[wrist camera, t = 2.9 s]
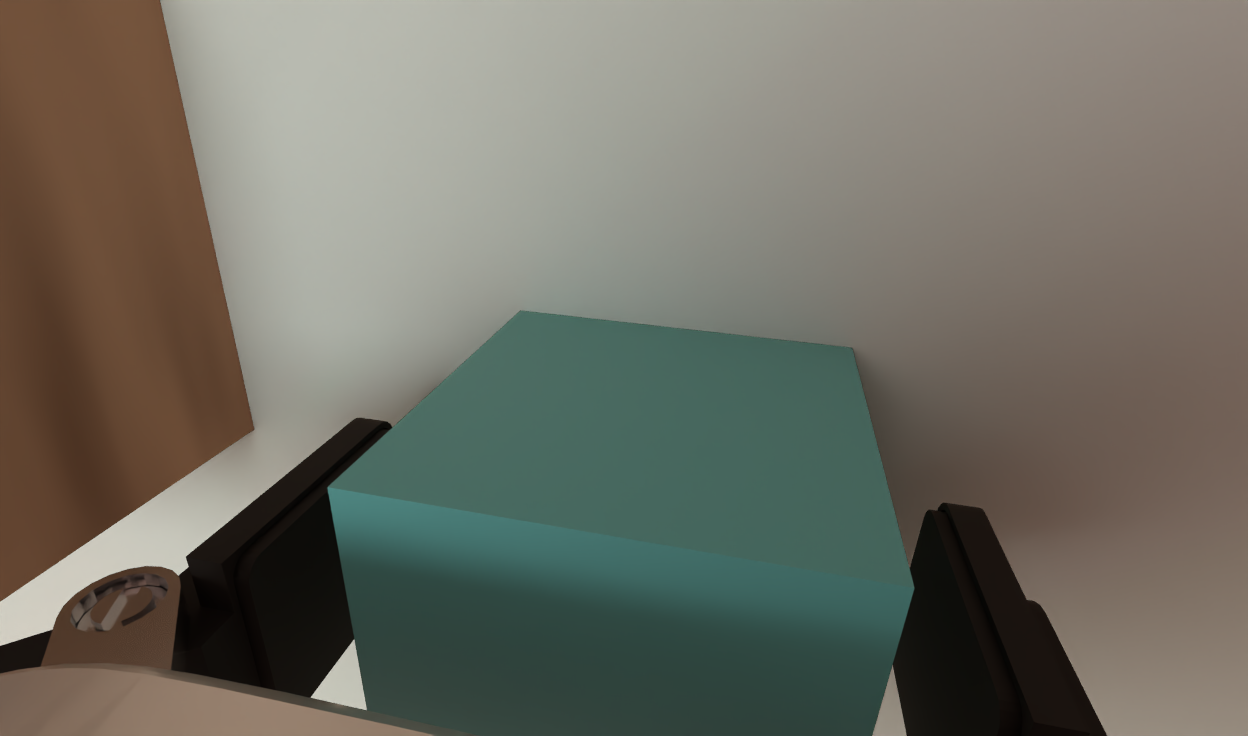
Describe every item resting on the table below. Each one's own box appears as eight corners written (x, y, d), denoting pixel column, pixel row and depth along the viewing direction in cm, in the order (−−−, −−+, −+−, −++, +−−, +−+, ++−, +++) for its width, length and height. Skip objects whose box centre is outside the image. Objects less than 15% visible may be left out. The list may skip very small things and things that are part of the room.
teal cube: (851, 346, 11) (914, 588, 6) (799, 608, 14) (811, 944, 9) (521, 309, 12) (327, 486, 7) (529, 559, 15) (389, 830, 10)
